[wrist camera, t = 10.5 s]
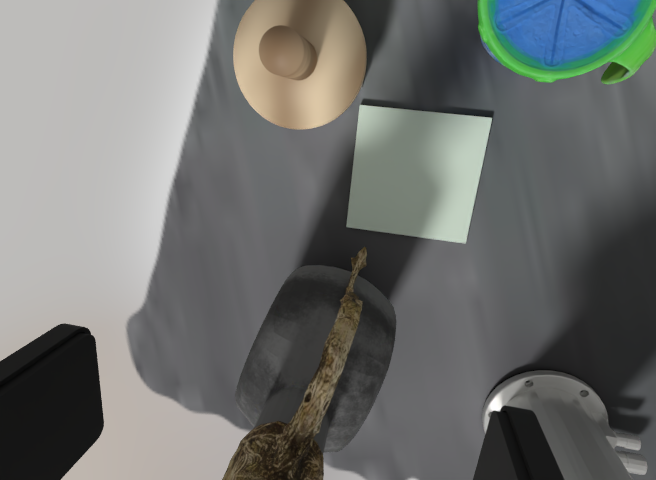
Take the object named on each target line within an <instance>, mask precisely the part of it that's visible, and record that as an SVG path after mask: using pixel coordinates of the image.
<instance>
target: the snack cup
mask: <svg viewBox="0 0 656 480" xmlns="http://www.w3.org/2000/svg"><path fill="white" fill-rule="evenodd" d="M655 8H656V0H478V19H479V24H478V29H479V32H480V37H481V42H482V44H483V47H484V48H485V49H486V51H487V52H488V54H489V55H490V56H491V57H492V58H493V59H494V60H496V61H497V62H499V63H500V64H502V65H504V66H506V67H507V68H509V69H510V70H512V71H514V72H516V73H518V74H520V75H523V76H526V77H530V78H533V79H534V80H536V81H539V82H554V81H555V80H558V79H565V78H570V77H574V76H577V75H581V74H584V73H586V72H589V71H591V70H594V69H596V68H598V67H600V66H602V65H603V64H605V63H607V62H612V63H611V64H610V65H609V67H608V68H607V69H606V71H605V72H604V74H603V76H602V78H601V81H602V82H603V83H604V84H613V83H617V82H620V81H623V80H625V79H627V78H629V77H631V76H632V75H633V74H634V73H635V72H636V71H637V70H638V69H639V68H640V66H641V65H642V64H643V63H644V62H645V61H646V60H647V59H648V58H649V57H650V56H651V54H652V53H653V51H654V50H655V47H656V30H655V27H654V23H653V18H652V14H653V12H654V10H655Z"/></svg>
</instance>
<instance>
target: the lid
mask: <svg viewBox="0 0 656 480" xmlns="http://www.w3.org/2000/svg"><path fill="white" fill-rule="evenodd" d="M233 59H234V68H235V74H236V77H237V81H238V84H239V86H240V89H241V91H242V93H243V94H244V96H245V98H246V99H247V101H248V102H249V104H250V105H251V106H252V107H253V108H254V109H255V110H256V112H258V113H259V114H260V115H261V116H262V117H264V118H265V119H267V120H268V121H270V122H272V123H274V124H276V125H278V126H282V127H285V128H290V129H311V128H315V127H319V126H322V125H325V124H327V123H329V122H331V121H333V120H335V119H336V118H337V117H339V116H340V115H341V114H343V113H344V112H345V111H346V110H347V109H348V108H349V106H350V105H351V104H352V103H353V101H354V100H355V98H356V96H357V95H358V93H359V91H360V88H361V86H362V84H363V80H364V77H365V72H366V66H367V50H366V43H365V38H364V35H363V32H362V29H361V27H360V24H359V22H358V20H357V18H356V16H355V15H354V13H353V12H352V10H351V8H350V7H349V6H348V5H347V4H346V3H345V1H344V0H255V1H254V2H253V3H252V5H251V6H250V7H249V8H248V9H247V11H246V13H245V14H244V16H243V18H242V20H241V22H240V24H239V27H238V30H237V33H236V37H235V42H234V51H233Z"/></svg>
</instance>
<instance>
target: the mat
mask: <svg viewBox="0 0 656 480" xmlns="http://www.w3.org/2000/svg"><path fill="white" fill-rule="evenodd" d="M491 122H492V118H488V117H478V116H468V115H458V114H447V113H437V112H427V111H417V110H407V109H396V108H386V107H376V106H366V105H360V108H359V117H358V126H357V135H356V144H355V153H354V162H353V171H352V180H351V189H350V198H349V207H348V216H347V224H346V227H349V228H356V229H363V230H371V231H378V232H385V233H393V234H400V235H407V236H414V237H422V238H429V239H436V240H443V241H451V242H458V243H465V244H466V239H467V235H468V230H469V225H470V221H471V216H472V211H473V207H474V202H475V197H476V192H477V188H478V183H479V178H480V174H481V169H482V164H483V160H484V155H485V150H486V146H487V141H488V136H489V131H490V127H491Z"/></svg>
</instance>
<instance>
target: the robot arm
mask: <svg viewBox="0 0 656 480" xmlns="http://www.w3.org/2000/svg"><path fill="white" fill-rule="evenodd" d="M482 421H483V427H484V431H485V438H484V442H483V445H482V449H481V453H480V456H479V460H478V464H477V467H476V471H475V475H474V478H473V480H633V479H632V477H631V475H630V474H629V472H630V473H635V474H640V475H644V474H645V473H646V472H647V463H646V460H645V458H644V457H643V456H642V455H641V454H636V453H630V452H625V451H616V450H614V448H615V446H621V447H623V448H628V449H633V450H639V449H640V447H641V441H640V439H639V437H638V436H635V435H630V434H624V433H622V434H621V433H615V431H614V430H613V429H611V428H610V426H609V424H608V414H607V411H606V408H605V405H604V404H603V402H602V401H601V399H600V398H599V396H598V395H597V394H596V392H595V391H594V390H593V389H592V388H591V387H590V386H589V385H588V384H586V383H585V382H584V381H582V380H580V379H578V378H576V377H575V376H572V375H569V374H566V373H563V372H557V371H551V370H537V371H530V372H525V373H522V374H518V375H515V376H513V377H511V378H509V379H507V380H505V381H504V382H503V383H501V384H500V385H498V386H497V387H496V388H495V389H494V390H493V391H492V392H491V394H490V395H489V397H488V398H487V400H486V402H485V405H484V408H483V414H482ZM103 426H104V420H103V411H102V400H101V391H100V381H99V371H98V362H97V352H96V342H95V338H94V336H92V335H91V333H90V331H89V329H88V328H85V327H80V326H75V325H70V324H60V325H58V326H56V327H54V328H53V329H51V330H50V331H48V332H46V333H45V334H43V335H42V336H40V337H38V338H37V339H35V340H34V341H32V342H30V343H29V344H27V345H26V346H24V347H22V348H21V349H19V350H18V351H16V352H15V353H13V354H11V355H10V356H8V357H7V358H5V359H3V360H2V361H0V480H61V478H62V477H63V476H64V475H65V474H66V473H67V472H68V471H69V470H70V469H71V468H72V467H73V465H74V464H75V463H76V462H77V461H78V460H79V459H80V458H81V457H82V456H83V455H84V453H85V452H86V451H87V450H88V449H89V448H90V447H91V446H92V445H93V444H94V443H95V441H96V440H97V439H98V438H99V436H100V435H101V432H102V430H103Z"/></svg>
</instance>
